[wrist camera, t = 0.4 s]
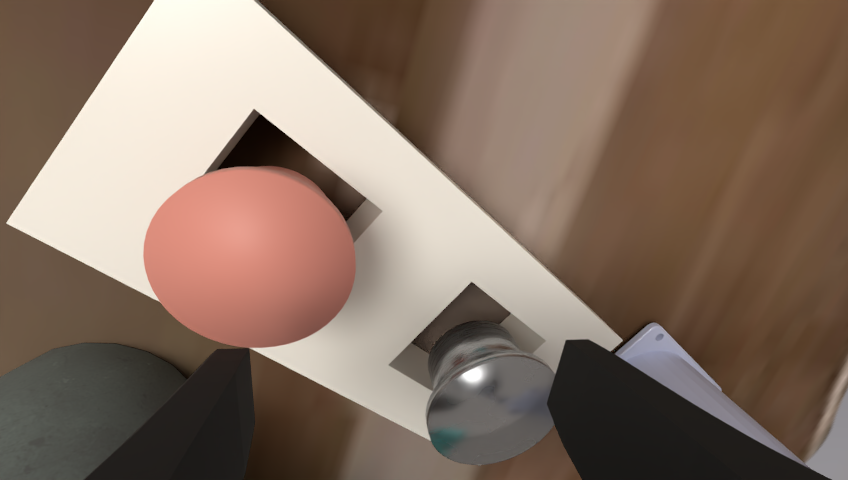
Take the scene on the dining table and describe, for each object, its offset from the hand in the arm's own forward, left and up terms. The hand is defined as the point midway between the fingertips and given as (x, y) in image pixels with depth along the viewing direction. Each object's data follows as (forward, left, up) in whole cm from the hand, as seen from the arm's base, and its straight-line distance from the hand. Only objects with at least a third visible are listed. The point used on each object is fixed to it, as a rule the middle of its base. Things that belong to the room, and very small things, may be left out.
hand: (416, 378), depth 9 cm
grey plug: (-6, +1, -6) cm, 9 cm away
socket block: (-1, +1, -10) cm, 10 cm away
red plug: (+4, +1, -6) cm, 7 cm away
